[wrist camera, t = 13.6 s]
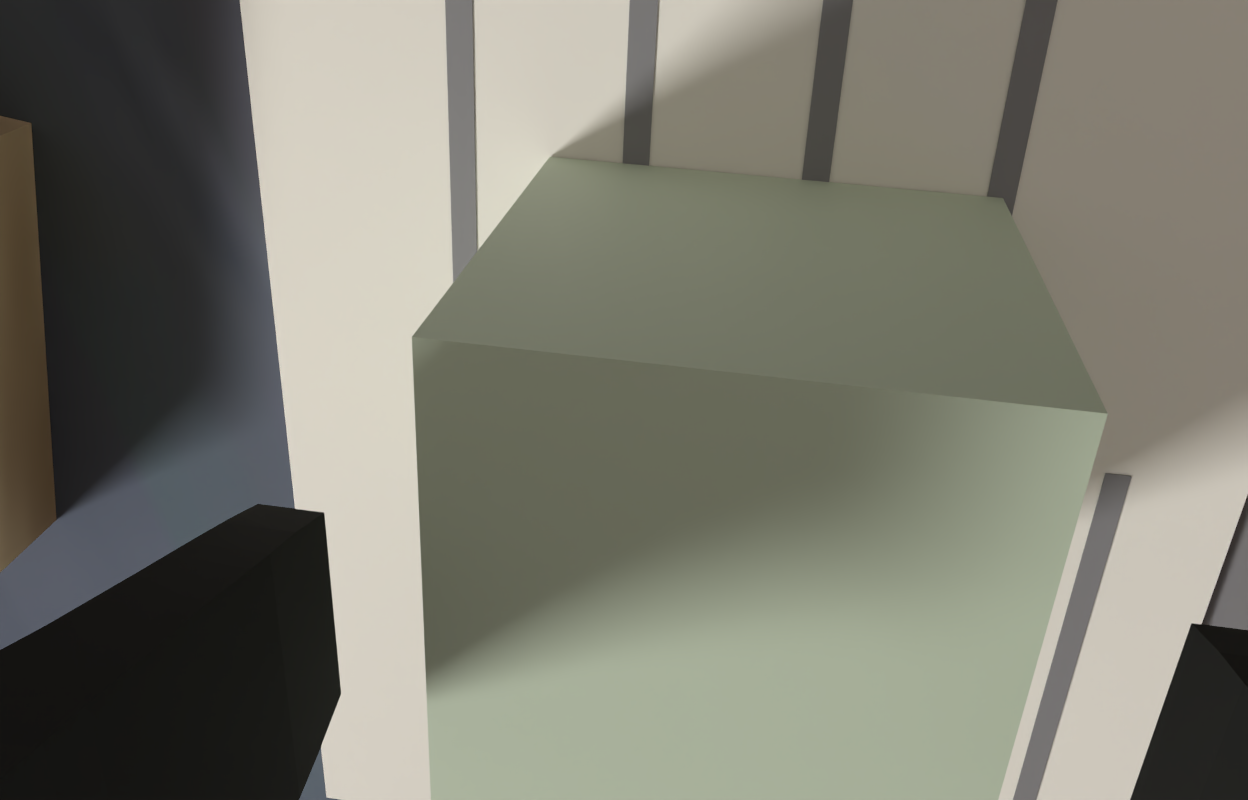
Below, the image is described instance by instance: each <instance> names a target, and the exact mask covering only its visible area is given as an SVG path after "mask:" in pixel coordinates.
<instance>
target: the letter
mask: <svg viewBox="0 0 1248 800" xmlns="http://www.w3.org/2000/svg"><path fill="white" fill-rule="evenodd" d="M240 8H241V17H242V26H243V36H244V45H245V54H246V63H247V72H248V81H249V91H250V100H251V109H252V118H253V127H254V136H255V146H256V155H257V164H258V173H259V182H260V191H261V201H262V210H263V219H264V228H265V237H266V246H267V256H268V265H269V274H270V283H271V292H272V301H273V311H274V320H275V329H276V338H277V347H278V356H279V366H280V375H281V384H282V393H283V402H284V411H285V421H286V430H287V439H288V448H289V457H290V466H291V476H292V485H293V494H294V503H295V509H300V510H308V511H316V512H324V515H325V526H326V537H327V548H328V558H329V569H330V580H331V590H332V601H333V612H334V623H335V633H336V644H337V655H338V666H339V676H340V687H341V696H340V698H339V701H338V703H337V706H336V709H335V711H334V714H333V716H332V719H331V722H330V724H329V727H328V729H327V732H326V735H325V737H324V740H323V742H322V745H321V751H322V760H323V769H324V778H325V787H326V796H327V798H334V799H341V800H431V791H430V766H429V742H428V718H427V694H426V670H425V645H424V621H423V597H422V573H421V549H420V525H419V500H418V476H417V452H416V428H415V404H414V380H413V355H412V336H413V335H414V333H415V332H416V331H417V329H418V328H419V327H420V326H421V324H422V323H423V322H424V320H425V319H426V318H427V316H428V315H429V314H430V313H431V311H432V310H433V309H434V307H435V306H436V305H437V303H438V302H439V301H440V299H441V298H442V297H443V296H444V294H445V293H446V292H447V290H448V289H449V288H450V286H451V285H452V284H453V282H454V281H455V280H456V279H457V277H458V276H459V275H460V273H461V272H462V271H463V269H464V268H465V267H466V265H467V264H468V263H469V262H470V260H471V259H472V258H473V256H474V255H475V254H476V252H477V251H478V250H479V248H480V247H481V246H482V245H483V243H484V242H485V241H486V239H487V238H488V237H489V235H490V234H491V233H492V231H493V230H494V229H495V228H496V226H497V225H498V224H499V222H500V221H501V220H502V218H503V217H504V216H505V214H506V213H507V212H508V211H509V209H510V208H511V207H512V205H513V204H514V203H515V201H516V200H517V199H518V198H519V196H520V195H521V194H522V192H523V191H524V190H525V188H526V187H527V186H528V184H529V183H530V182H531V181H532V179H533V178H534V177H535V175H536V174H537V173H538V171H539V170H540V169H541V167H542V166H543V165H544V164H545V162H546V161H547V160H548V158H549V157H559V158H570V159H581V160H592V161H603V162H614V163H625V164H636V165H647V166H658V167H669V168H680V169H691V170H702V171H713V172H724V173H734V174H745V175H756V176H767V177H778V178H789V179H800V180H811V181H822V182H833V183H844V184H855V185H866V186H877V187H888V188H899V189H910V190H921V191H932V192H942V193H953V194H964V195H975V196H986V197H997V198H1003V199H1004V201H1005V203H1006V205H1007V207H1008V209H1009V211H1010V213H1011V215H1012V217H1013V220H1014V222H1015V224H1016V226H1017V228H1018V230H1019V232H1020V234H1021V236H1022V238H1023V240H1024V242H1025V244H1026V246H1027V248H1028V250H1029V252H1030V255H1031V257H1032V259H1033V261H1034V263H1035V265H1036V267H1037V269H1038V271H1039V273H1040V275H1041V277H1042V279H1043V281H1044V283H1045V285H1046V288H1047V290H1048V292H1049V294H1050V296H1051V298H1052V300H1053V302H1054V304H1055V306H1056V308H1057V310H1058V312H1059V314H1060V316H1061V318H1062V320H1063V323H1064V325H1065V327H1066V329H1067V331H1068V333H1069V335H1070V337H1071V339H1072V341H1073V343H1074V345H1075V347H1076V349H1077V351H1078V353H1079V356H1080V358H1081V360H1082V362H1083V364H1084V366H1085V368H1086V370H1087V372H1088V374H1089V376H1090V378H1091V380H1092V382H1093V384H1094V386H1095V388H1096V391H1097V393H1098V395H1099V397H1100V399H1101V401H1102V403H1103V405H1104V407H1105V409H1106V411H1107V413H1108V415H1107V418H1106V422H1105V425H1104V429H1103V432H1102V436H1101V439H1100V443H1099V446H1098V450H1097V453H1096V457H1095V461H1094V464H1093V468H1092V471H1091V475H1090V478H1089V482H1088V485H1087V489H1086V492H1085V496H1084V499H1083V503H1082V506H1081V510H1080V513H1079V517H1078V520H1077V524H1076V527H1075V531H1074V535H1073V538H1072V542H1071V545H1070V549H1069V552H1068V556H1067V559H1066V563H1065V566H1064V570H1063V573H1062V577H1061V580H1060V584H1059V587H1058V591H1057V594H1056V598H1055V601H1054V605H1053V608H1052V612H1051V616H1050V619H1049V623H1048V626H1047V630H1046V633H1045V637H1044V640H1043V644H1042V647H1041V651H1040V654H1039V658H1038V661H1037V665H1036V668H1035V672H1034V675H1033V679H1032V682H1031V686H1030V690H1029V693H1028V697H1027V700H1026V704H1025V707H1024V711H1023V714H1022V718H1021V721H1020V725H1019V728H1018V732H1017V735H1016V739H1015V742H1014V746H1013V749H1012V753H1011V756H1010V760H1009V764H1008V767H1007V771H1006V774H1005V778H1004V781H1003V785H1002V788H1001V792H1000V795H999V799H998V800H1130V799H1131V796H1132V793H1133V790H1134V787H1135V784H1136V781H1137V779H1138V776H1139V773H1140V770H1141V767H1142V764H1143V761H1144V758H1145V756H1146V753H1147V750H1148V747H1149V744H1150V741H1151V738H1152V735H1153V732H1154V730H1155V727H1156V724H1157V721H1158V718H1159V715H1160V712H1161V709H1162V707H1163V704H1164V701H1165V698H1166V695H1167V692H1168V689H1169V686H1170V684H1171V681H1172V678H1173V675H1174V672H1175V669H1176V666H1177V663H1178V661H1179V658H1180V655H1181V652H1182V649H1183V646H1184V643H1185V640H1186V638H1187V635H1188V632H1189V629H1190V626H1191V623H1194V624H1202V622H1203V619H1204V616H1205V613H1206V610H1207V608H1208V605H1209V602H1210V599H1211V596H1212V593H1213V591H1214V588H1215V585H1216V582H1217V579H1218V577H1219V574H1220V571H1221V568H1222V565H1223V562H1224V560H1225V557H1226V554H1227V551H1228V548H1229V546H1230V543H1231V540H1232V537H1233V534H1234V532H1235V529H1236V526H1237V523H1238V520H1239V517H1240V515H1241V512H1242V509H1243V506H1244V503H1245V501H1246V498H1247V495H1248V0H240Z"/></svg>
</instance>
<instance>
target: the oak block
mask: <svg viewBox="0 0 1248 800" xmlns="http://www.w3.org/2000/svg"><path fill="white" fill-rule="evenodd" d="M55 521H56V506H55V490H54V474H53V458H52V442H51V427H50V411H49V395H48V379H47V363H46V348H45V332H44V316H43V300H42V284H41V269H40V253H39V237H38V221H37V205H36V190H35V174H34V158H33V142H32V126H31V123H29V122H25V121H20V120H16V119H12V118H8V117H3V116H0V572H1V571H2V570H3V569H4V568H6V567H7V566H8V565H9V564H10V563H11V562H12V561H13V560H14V559H15V558H16V557H17V556H18V555H19V554H20V553H22V552H23V551H24V550H25V549H26V548H27V547H28V546H29V545H30V544H31V543H32V542H33V541H34V540H35V539H36V538H37V537H39V536H40V535H41V534H42V533H43V532H44V531H45V530H46V529H47V528H48V527H49V526H50V525H51V524H52V523H53V522H55Z"/></svg>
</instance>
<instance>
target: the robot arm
mask: <svg viewBox="0 0 1248 800" xmlns="http://www.w3.org/2000/svg"><path fill="white" fill-rule="evenodd" d="M340 696H341V687H340V676H339V666H338V655H337V644H336V633H335V623H334V612H333V601H332V590H331V580H330V569H329V558H328V548H327V537H326V526H325V515H324V512H316V511H308V510H300V509H293V508H285V507H277V506H269V505H261V504H257V505H255V506H253V507H251V508H249V509H247V510H245V511H243V512H241V513H239V514H237V515H236V516H234V517H232V518H230V519H228V520H226V521H225V522H223V523H221V524H219V525H218V526H216V527H214V528H212V529H210V530H209V531H207V532H205V533H204V534H202V535H200V536H198V537H197V538H195V539H193V540H192V541H190V542H188V543H186V544H185V545H183V546H181V547H180V548H178V549H176V550H175V551H173V552H171V553H169V554H168V555H166V556H164V557H163V558H161V559H159V560H158V561H156V562H154V563H153V564H151V565H149V566H147V567H146V568H144V569H142V570H141V571H139V572H137V573H136V574H134V575H132V576H130V577H129V578H127V579H125V580H124V581H122V582H120V583H118V584H117V585H115V586H113V587H112V588H110V589H108V590H106V591H105V592H103V593H101V594H99V595H98V596H96V597H94V598H93V599H91V600H89V601H87V602H86V603H84V604H82V605H81V606H79V607H77V608H75V609H74V610H72V611H70V612H69V613H67V614H65V615H63V616H62V617H60V618H58V619H56V620H55V621H53V622H51V623H50V624H48V625H46V626H44V627H42V628H41V629H39V630H37V631H35V632H33V633H31V634H30V635H28V636H26V637H24V638H22V639H20V640H18V641H16V642H15V643H13V644H11V645H9V646H7V647H5V648H3V649H1V650H0V800H299V798H300V796H301V793H302V791H303V789H304V786H305V784H306V781H307V779H308V777H309V774H310V772H311V769H312V767H313V765H314V762H315V760H316V757H317V755H318V753H319V750H320V748H321V745H322V742H323V740H324V737H325V735H326V732H327V729H328V727H329V724H330V722H331V719H332V716H333V714H334V711H335V709H336V706H337V703H338V701H339V698H340ZM1130 800H1248V630H1241V629H1233V628H1225V627H1217V626H1209V625H1201V624H1194V623H1191V626H1190V629H1189V632H1188V635H1187V638H1186V640H1185V643H1184V646H1183V649H1182V652H1181V655H1180V658H1179V661H1178V663H1177V666H1176V669H1175V672H1174V675H1173V678H1172V681H1171V684H1170V686H1169V689H1168V692H1167V695H1166V698H1165V701H1164V704H1163V707H1162V709H1161V712H1160V715H1159V718H1158V721H1157V724H1156V727H1155V730H1154V732H1153V735H1152V738H1151V741H1150V744H1149V747H1148V750H1147V753H1146V756H1145V758H1144V761H1143V764H1142V767H1141V770H1140V773H1139V776H1138V779H1137V781H1136V784H1135V787H1134V790H1133V793H1132V796H1131V799H1130Z"/></svg>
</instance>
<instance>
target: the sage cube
mask: <svg viewBox="0 0 1248 800" xmlns="http://www.w3.org/2000/svg"><path fill="white" fill-rule="evenodd" d="M412 355H413V380H414V404H415V428H416V452H417V476H418V500H419V525H420V549H421V573H422V597H423V621H424V645H425V670H426V694H427V718H428V742H429V766H430V791H431V800H998V799H999V795H1000V792H1001V788H1002V785H1003V781H1004V778H1005V774H1006V771H1007V767H1008V764H1009V760H1010V756H1011V753H1012V749H1013V746H1014V742H1015V739H1016V735H1017V732H1018V728H1019V725H1020V721H1021V718H1022V714H1023V711H1024V707H1025V704H1026V700H1027V697H1028V693H1029V690H1030V686H1031V682H1032V679H1033V675H1034V672H1035V668H1036V665H1037V661H1038V658H1039V654H1040V651H1041V647H1042V644H1043V640H1044V637H1045V633H1046V630H1047V626H1048V623H1049V619H1050V616H1051V612H1052V608H1053V605H1054V601H1055V598H1056V594H1057V591H1058V587H1059V584H1060V580H1061V577H1062V573H1063V570H1064V566H1065V563H1066V559H1067V556H1068V552H1069V549H1070V545H1071V542H1072V538H1073V535H1074V531H1075V527H1076V524H1077V520H1078V517H1079V513H1080V510H1081V506H1082V503H1083V499H1084V496H1085V492H1086V489H1087V485H1088V482H1089V478H1090V475H1091V471H1092V468H1093V464H1094V461H1095V457H1096V453H1097V450H1098V446H1099V443H1100V439H1101V436H1102V432H1103V429H1104V425H1105V422H1106V418H1107V415H1108V413H1107V411H1106V409H1105V407H1104V405H1103V403H1102V401H1101V399H1100V397H1099V395H1098V393H1097V391H1096V388H1095V386H1094V384H1093V382H1092V380H1091V378H1090V376H1089V374H1088V372H1087V370H1086V368H1085V366H1084V364H1083V362H1082V360H1081V358H1080V356H1079V353H1078V351H1077V349H1076V347H1075V345H1074V343H1073V341H1072V339H1071V337H1070V335H1069V333H1068V331H1067V329H1066V327H1065V325H1064V323H1063V320H1062V318H1061V316H1060V314H1059V312H1058V310H1057V308H1056V306H1055V304H1054V302H1053V300H1052V298H1051V296H1050V294H1049V292H1048V290H1047V288H1046V285H1045V283H1044V281H1043V279H1042V277H1041V275H1040V273H1039V271H1038V269H1037V267H1036V265H1035V263H1034V261H1033V259H1032V257H1031V255H1030V252H1029V250H1028V248H1027V246H1026V244H1025V242H1024V240H1023V238H1022V236H1021V234H1020V232H1019V230H1018V228H1017V226H1016V224H1015V222H1014V220H1013V217H1012V215H1011V213H1010V211H1009V209H1008V207H1007V205H1006V203H1005V201H1004V199H1003V198H997V197H986V196H975V195H964V194H953V193H942V192H932V191H921V190H910V189H899V188H888V187H877V186H866V185H855V184H844V183H833V182H822V181H811V180H800V179H789V178H778V177H767V176H756V175H745V174H734V173H724V172H713V171H702V170H691V169H680V168H669V167H658V166H647V165H636V164H625V163H614V162H603V161H592V160H581V159H570V158H559V157H549V158H548V160H547V161H546V162H545V164H544V165H543V166H542V167H541V169H540V170H539V171H538V173H537V174H536V175H535V177H534V178H533V179H532V181H531V182H530V183H529V184H528V186H527V187H526V188H525V190H524V191H523V192H522V194H521V195H520V196H519V198H518V199H517V200H516V201H515V203H514V204H513V205H512V207H511V208H510V209H509V211H508V212H507V213H506V214H505V216H504V217H503V218H502V220H501V221H500V222H499V224H498V225H497V226H496V228H495V229H494V230H493V231H492V233H491V234H490V235H489V237H488V238H487V239H486V241H485V242H484V243H483V245H482V246H481V247H480V248H479V250H478V251H477V252H476V254H475V255H474V256H473V258H472V259H471V260H470V262H469V263H468V264H467V265H466V267H465V268H464V269H463V271H462V272H461V273H460V275H459V276H458V277H457V279H456V280H455V281H454V282H453V284H452V285H451V286H450V288H449V289H448V290H447V292H446V293H445V294H444V296H443V297H442V298H441V299H440V301H439V302H438V303H437V305H436V306H435V307H434V309H433V310H432V311H431V313H430V314H429V315H428V316H427V318H426V319H425V320H424V322H423V323H422V324H421V326H420V327H419V328H418V329H417V331H416V332H415V333H414V335H413V336H412Z"/></svg>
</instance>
